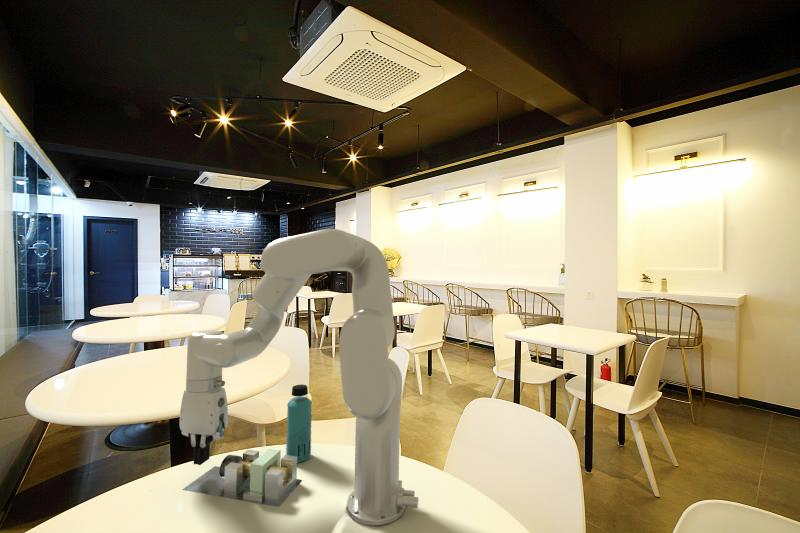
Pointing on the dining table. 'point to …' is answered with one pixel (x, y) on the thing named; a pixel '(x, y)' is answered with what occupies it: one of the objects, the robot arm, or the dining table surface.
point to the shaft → (246, 467)
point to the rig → (248, 482)
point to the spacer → (262, 469)
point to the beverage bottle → (299, 424)
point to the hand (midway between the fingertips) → (201, 461)
